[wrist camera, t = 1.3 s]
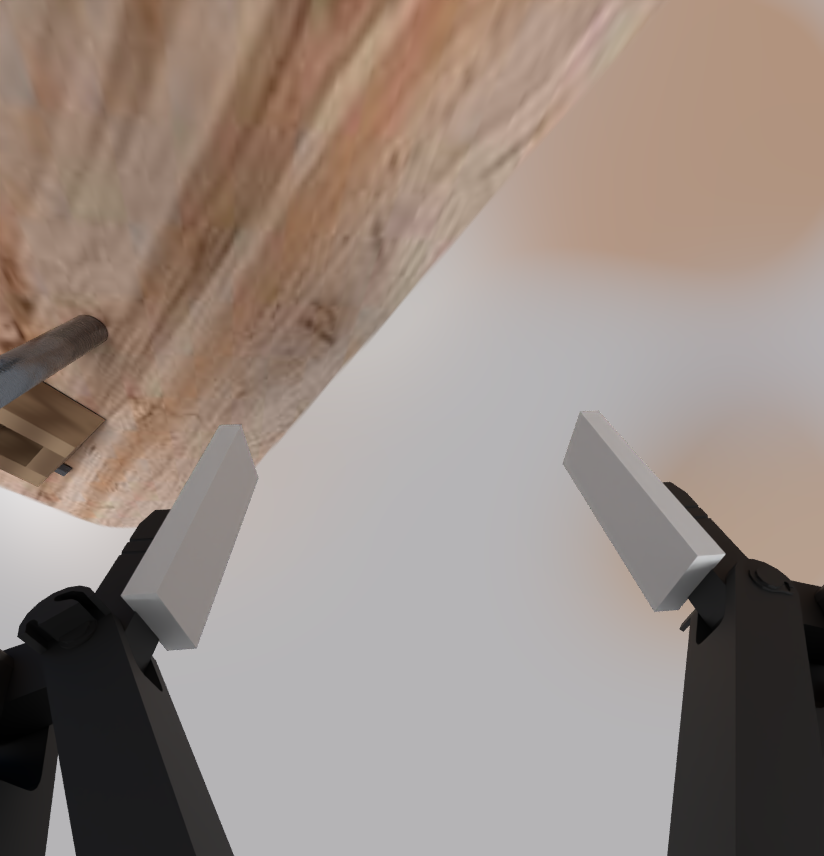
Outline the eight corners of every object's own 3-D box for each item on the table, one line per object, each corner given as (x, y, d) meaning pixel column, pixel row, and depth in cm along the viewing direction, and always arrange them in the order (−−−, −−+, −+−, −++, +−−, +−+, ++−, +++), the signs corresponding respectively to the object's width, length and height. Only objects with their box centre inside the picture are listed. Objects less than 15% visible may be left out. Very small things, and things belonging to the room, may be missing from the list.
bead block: (-11, 414, 40) (-55, 442, 35) (23, 370, 37) (-20, 395, 33) (69, 457, 44) (37, 486, 39) (105, 420, 41) (75, 447, 37)
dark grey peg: (67, 327, 35) (-81, 405, 24) (82, 309, 34) (-64, 380, 23) (98, 349, 36) (-28, 431, 25) (113, 331, 36) (-11, 409, 24)
